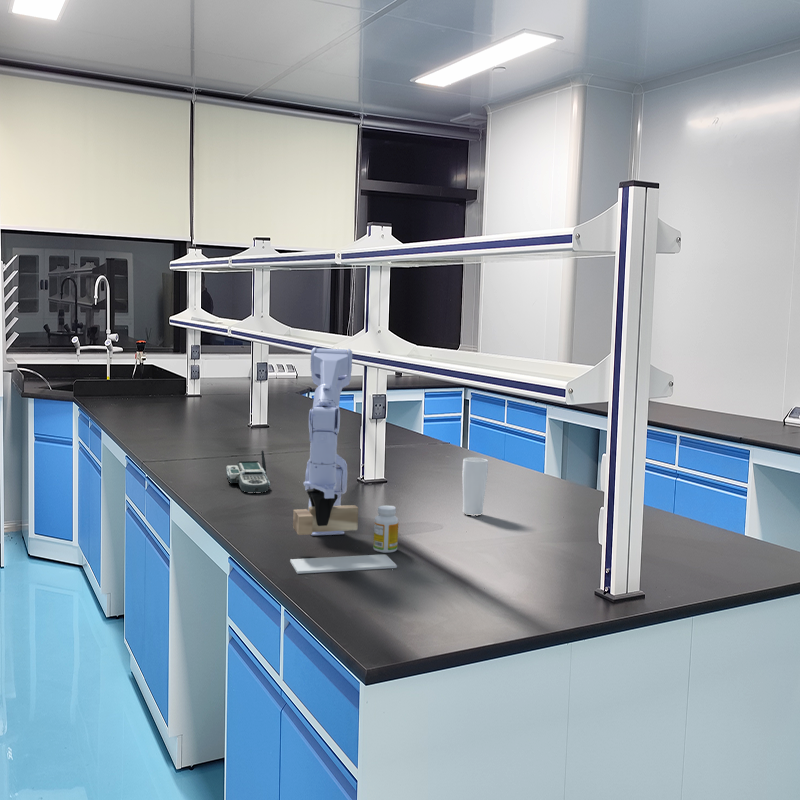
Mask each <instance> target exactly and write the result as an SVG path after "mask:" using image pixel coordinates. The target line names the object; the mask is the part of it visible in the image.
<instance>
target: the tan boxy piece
mask: <svg viewBox="0 0 800 800" xmlns="http://www.w3.org/2000/svg"><path fill="white" fill-rule="evenodd" d="M308 508H309V511H308ZM308 508H304V509H301V508H299V509H293V515H292V516H293V518H292V519H293V520H292V528H293V530H294V531H295V532H296V535H298V536H304V535H305V536H307V535H311V534H312V532H324V531H344V532H346V531H358V523H359V522H358V520H359V507H358V506H357V505H356V504H354V505H353V504H352V505H351V504H350V505H341V506H333V507H332V510H331V514H330V518H329V521H328V525H327V526H318V525H317V521H316V511H315V507H309V506H308Z"/></svg>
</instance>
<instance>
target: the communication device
mask: <svg viewBox="0 0 800 800" xmlns="http://www.w3.org/2000/svg"><path fill="white" fill-rule="evenodd" d="M265 457H266V456H265V452H264V449H263V450H261V464H260V461H258V460H238V461H236V465H226V466H225V472H226V474H225V476H226V475H227V477H226V479H227V478H228V480H229V481H230V482H231V483H238V485H239V488H240V490H241V492H243V491H245V492H253V493H254V492H255V493H256V492H265V491H267V492H268V491H269V487H271V482H270V480H269V478H268V476H267V467H266V466H267V465H266V460H265ZM228 480H227V481H228ZM265 493H266V492H265Z"/></svg>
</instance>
